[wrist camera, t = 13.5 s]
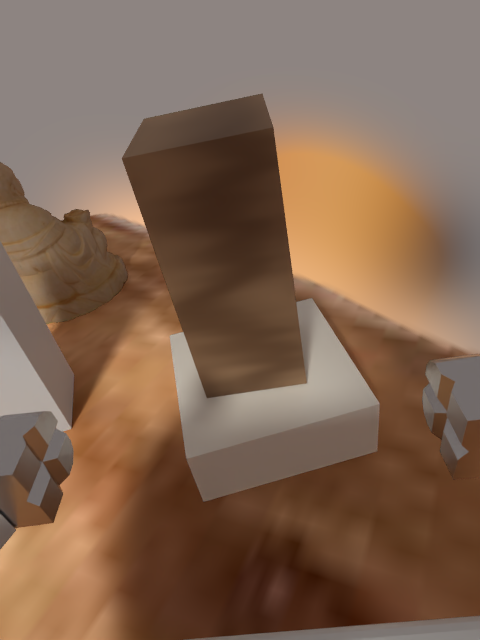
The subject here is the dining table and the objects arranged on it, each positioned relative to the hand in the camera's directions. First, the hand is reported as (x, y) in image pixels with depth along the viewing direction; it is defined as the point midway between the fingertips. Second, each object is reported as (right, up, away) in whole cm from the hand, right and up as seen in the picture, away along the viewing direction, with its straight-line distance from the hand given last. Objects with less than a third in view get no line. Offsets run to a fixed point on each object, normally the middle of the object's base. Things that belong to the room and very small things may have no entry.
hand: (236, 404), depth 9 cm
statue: (-16, +4, +31) cm, 35 cm away
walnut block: (+1, 0, +14) cm, 14 cm away
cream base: (+2, -4, +16) cm, 16 cm away
